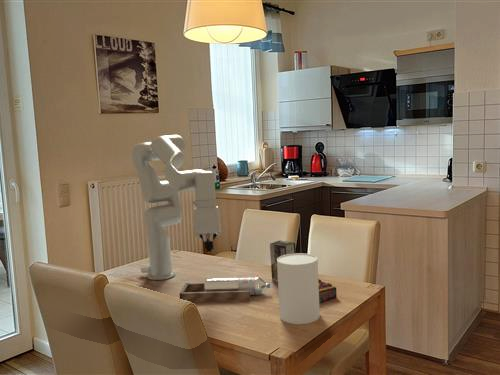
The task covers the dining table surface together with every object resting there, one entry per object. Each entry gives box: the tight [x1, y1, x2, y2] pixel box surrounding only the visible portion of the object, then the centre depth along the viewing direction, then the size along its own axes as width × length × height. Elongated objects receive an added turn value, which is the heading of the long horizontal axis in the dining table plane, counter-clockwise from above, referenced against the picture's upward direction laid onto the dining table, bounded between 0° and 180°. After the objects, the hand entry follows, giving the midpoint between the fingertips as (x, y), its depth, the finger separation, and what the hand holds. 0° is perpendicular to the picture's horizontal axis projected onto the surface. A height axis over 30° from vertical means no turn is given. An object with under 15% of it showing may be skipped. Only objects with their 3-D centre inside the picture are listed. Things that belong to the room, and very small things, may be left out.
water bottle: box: [203, 276, 271, 296], centre depth 192 cm, size 7×7×25 cm
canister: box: [277, 252, 321, 325], centre depth 167 cm, size 14×14×20 cm
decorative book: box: [318, 278, 338, 304], centre depth 186 cm, size 11×16×5 cm
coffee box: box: [269, 240, 297, 283], centre depth 205 cm, size 9×6×16 cm
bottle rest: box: [179, 282, 251, 303], centre depth 192 cm, size 27×12×4 cm, turn 86°
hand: (209, 250), depth 190 cm, fingers closed
